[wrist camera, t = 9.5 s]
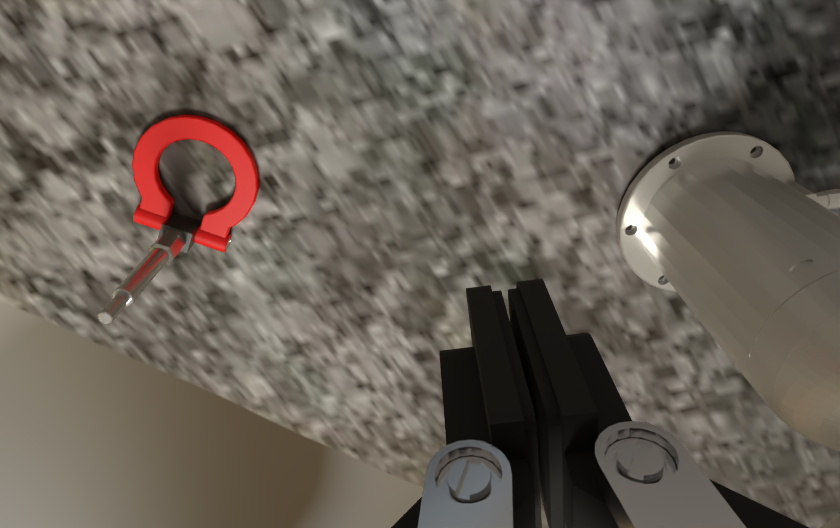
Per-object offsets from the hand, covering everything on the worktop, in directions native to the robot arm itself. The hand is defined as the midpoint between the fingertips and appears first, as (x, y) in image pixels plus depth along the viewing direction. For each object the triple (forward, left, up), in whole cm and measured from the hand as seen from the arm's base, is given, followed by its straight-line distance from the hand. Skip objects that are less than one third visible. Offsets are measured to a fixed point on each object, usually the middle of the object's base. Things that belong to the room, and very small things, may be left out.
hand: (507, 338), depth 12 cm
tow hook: (+18, +4, -28) cm, 33 cm away
